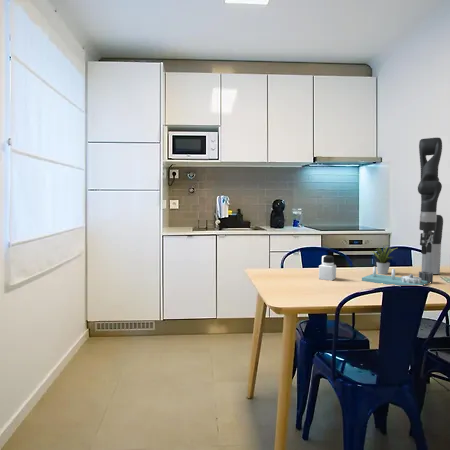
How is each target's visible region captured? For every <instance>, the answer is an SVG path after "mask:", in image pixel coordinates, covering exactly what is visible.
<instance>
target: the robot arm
mask: <svg viewBox="0 0 450 450" xmlns="http://www.w3.org/2000/svg"><path fill="white" fill-rule="evenodd" d="M442 152H443V141H442V138H441V137H427V138H422V139H420V140H419V143H418V153H419V165H420V181H419V183H418V186H417V192H418V194H420V214H419V225H418V226H419V227H418V228H419V229H418V230H419V231H422V232H420V239H419V241H420V242H419V245H420V246H421V255H422V256H421V271H420V272H422V271H424V272H432V273H433V274H439V275H440V274H441V272H440V271H441V256H442V255H441V254H442V252H441V251H442V238H443V227H444V218H443V216H442V215H441V214H437V206H438V201H439V196H440V194H441V191H442V188H443V184H442V182H440V179H439V165H440V161H441V157H442V154H443V153H442ZM427 156H431V158H430V159H427Z"/></svg>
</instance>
